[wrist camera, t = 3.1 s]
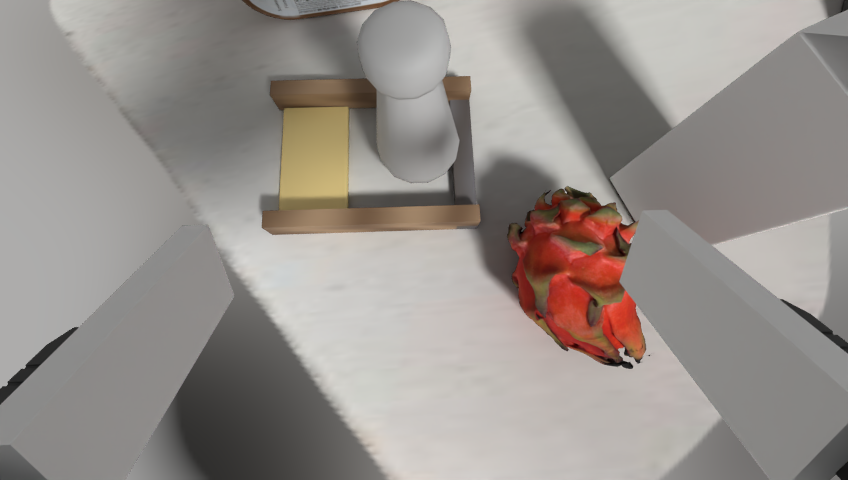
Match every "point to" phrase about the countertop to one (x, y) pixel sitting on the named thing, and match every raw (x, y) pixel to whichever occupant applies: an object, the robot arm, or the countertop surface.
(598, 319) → the dragon fruit
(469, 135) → the channel
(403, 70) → the salt shaker
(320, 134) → the yellow panel
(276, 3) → the tin
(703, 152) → the milk carton
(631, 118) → the countertop surface
